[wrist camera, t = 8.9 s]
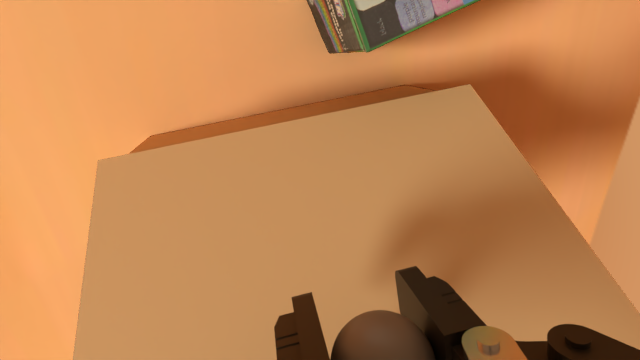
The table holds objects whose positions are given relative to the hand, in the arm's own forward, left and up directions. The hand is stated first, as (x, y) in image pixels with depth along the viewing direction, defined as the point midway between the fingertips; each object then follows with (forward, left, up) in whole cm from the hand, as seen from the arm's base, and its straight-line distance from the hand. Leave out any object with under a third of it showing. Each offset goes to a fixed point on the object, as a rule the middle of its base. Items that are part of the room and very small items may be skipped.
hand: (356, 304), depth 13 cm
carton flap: (+1, 0, -6) cm, 6 cm away
